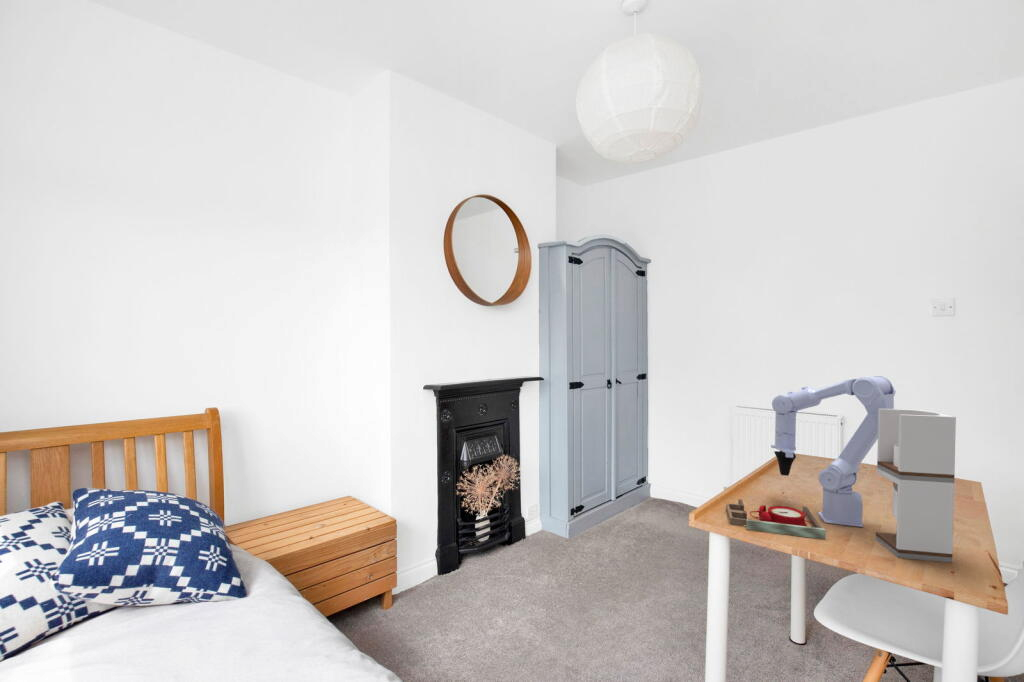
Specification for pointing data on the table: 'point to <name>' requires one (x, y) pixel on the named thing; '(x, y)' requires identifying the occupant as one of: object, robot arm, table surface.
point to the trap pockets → (735, 514)
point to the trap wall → (786, 526)
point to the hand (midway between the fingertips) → (784, 474)
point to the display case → (918, 481)
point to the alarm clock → (782, 515)
